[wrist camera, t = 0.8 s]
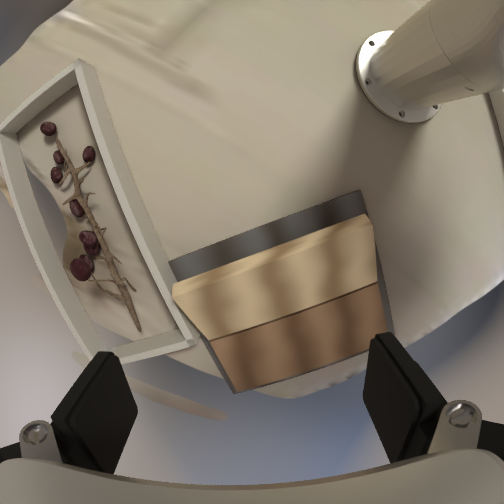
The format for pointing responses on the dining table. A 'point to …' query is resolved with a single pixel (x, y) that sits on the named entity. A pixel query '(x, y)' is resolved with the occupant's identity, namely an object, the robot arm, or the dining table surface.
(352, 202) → the walnut floor board
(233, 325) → the oak plank
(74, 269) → the decorative branch
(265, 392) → the dining table surface
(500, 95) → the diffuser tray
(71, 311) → the branch tray
